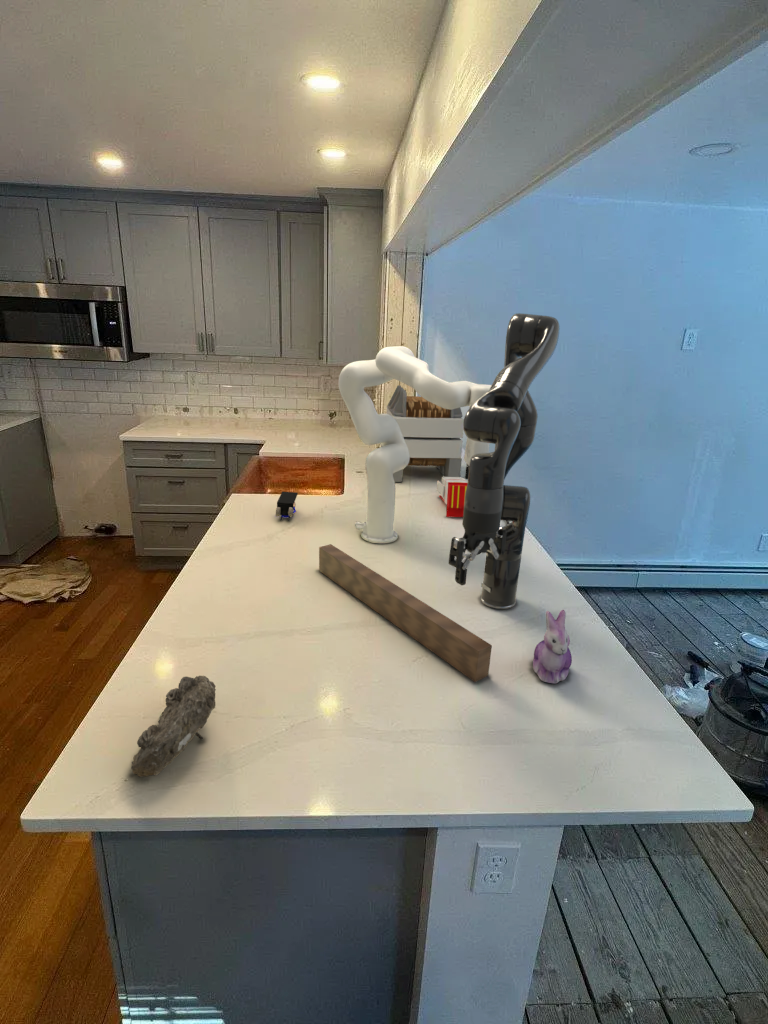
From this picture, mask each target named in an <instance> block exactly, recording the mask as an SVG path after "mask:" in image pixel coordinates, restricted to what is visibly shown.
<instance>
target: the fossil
mask: <svg viewBox="0 0 768 1024" xmlns="http://www.w3.org/2000/svg"><path fill="white" fill-rule="evenodd" d="M216 686H217V685H215V682H213V681H211V680H210V679H209V678H208V677H207V676H206V675H196V676H195V677H191V676H183V677H182V678H180V681H179V683H178V687H175V688H171V689H170V690H169V691H168V692H167V693H166V695H165V706H166V707H165V708H164V709H163V711H162V712H161V715H160V716H159V718H158V721H157V723H158V724H157V725H156V724H151V725H150V726H148V728H147V729H145V730H144V731H142V733H141V735H140V736H139V737H138V739H137V742H136V744H137V746H138V748H139V750H138V751H137V753H136V754H134V755H133V761H132V762H131V766H130V768H131V770H132V774H134V775H137V776H139V777H141V778H142V777H147V776H158V775H159V774H161V772H163V770H164V769H165V768H166V767H167V766H169V765H170V764H171V763H172V762H173V761H174V760H175V759H176V758H177V757H178V756H179V755H180V754H181V753H182V752H183V751H185V748H187V746H188V743H190V742H191V741H192V740H193V738H195V736H196V737H197V738H198V739H199V740H200V741H202V740H204V737H203V735H201V734H200V733H199V732H198V731H199V729H203V728H204V726H205V725H206V723H207V722H208V719H209V717H210V715H211V714H212V711H213V710H214V709H215V708H216V690H217V689H216Z"/></svg>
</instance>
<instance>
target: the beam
mask: <svg viewBox="0 0 768 1024" xmlns="http://www.w3.org/2000/svg"><path fill="white" fill-rule="evenodd" d="M318 550H319V551H318V571H319V573H322V575H324V576H326V577H328V579H330V580H331V581H332V582H334V583H335V584H337V585H338V586H339V587H341V588H342V589H344V590H345V591H347V592H348V593H350V594H351V595H352V596H353V597H355V598H356V599H358V600H359V601H361V602H362V603H364V605H366V606H368V608H370V609H372V610H373V611H375V613H377V614H379V615H380V616H382V617H383V618H385V619H386V620H387V621H388V622H390V623H391V624H393V625H394V626H395V627H397V628H399V629H400V630H401V631H403V632H404V633H405V634H407V635H408V636H409V637H411V638H413V639H414V640H415V641H417V642H418V643H419V644H421V645H422V646H423V647H424V648H426V649H428V650H429V651H431V652H432V653H434V654H435V655H436V656H437V657H439V658H440V659H441V660H443V661H444V662H446V663H448V665H450V666H452V667H453V668H455V669H456V670H457V671H459V672H460V673H461V674H462V675H464V676H466V677H467V678H468V679H470V680H471V681H472V682H474V683H477V682H479V681H481V680H483V679H485V678H487V677H489V671H490V666H491V665H490V664H491V655H492V647H493V645H492V644H491V643H489V642H488V641H486V640H484V639H483V638H481V637H479V636H477V635H476V634H474V633H473V632H472V631H470V630H468V629H467V628H465V627H463V626H462V625H461V624H459V623H458V622H456V621H454V620H452V619H451V618H449V617H447V616H446V615H445V614H443V613H441V612H440V611H438V610H437V609H434V608H433V607H432V606H430V605H429V604H427V603H425V602H424V601H422V600H420V599H419V598H418V597H416V596H414V595H412V594H411V593H409V592H408V591H406V590H405V589H403V588H402V587H400V586H398V585H397V584H395V583H393V582H392V581H390V580H389V579H387V578H386V577H384V576H382V575H381V574H379V573H378V572H376V571H375V570H373V569H371V568H370V567H368V566H366V564H365V565H364V564H363V563H362V562H360V561H359V560H357V559H355V558H354V557H352V556H351V555H349V554H347V553H346V552H344V551H343V550H341V549H340V548H338V547H336V546H335V545H333V544H331V543H330V544H325V545H322V546H319V547H318Z"/></svg>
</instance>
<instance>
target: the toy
mask: <svg viewBox="0 0 768 1024" xmlns="http://www.w3.org/2000/svg"><path fill="white" fill-rule="evenodd" d="M467 484H468V480H467V479H465V477H462V476H460V477H444V476H441V481H440V480H437V481H436V490H435V491H436V492H437V493H438V494H439V495H438V497H439V499H441V500H442V502H444V503H445V505H446V513H445V517H446V518H463V512H464V502H465V493H466V489H467Z"/></svg>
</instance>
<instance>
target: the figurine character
mask: <svg viewBox="0 0 768 1024" xmlns="http://www.w3.org/2000/svg"><path fill="white" fill-rule="evenodd" d="M298 494H299V493H298V492H293V491H281V493H280V495H279V497H278V500H277V501H276V508H275V517H279V520H280V521H283V518H284V519H286V518H287V521H288V522H289V521H290V520H291V517H294V514H295V513H297V509H296V505H297V504H296V500H297V497H298Z"/></svg>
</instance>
